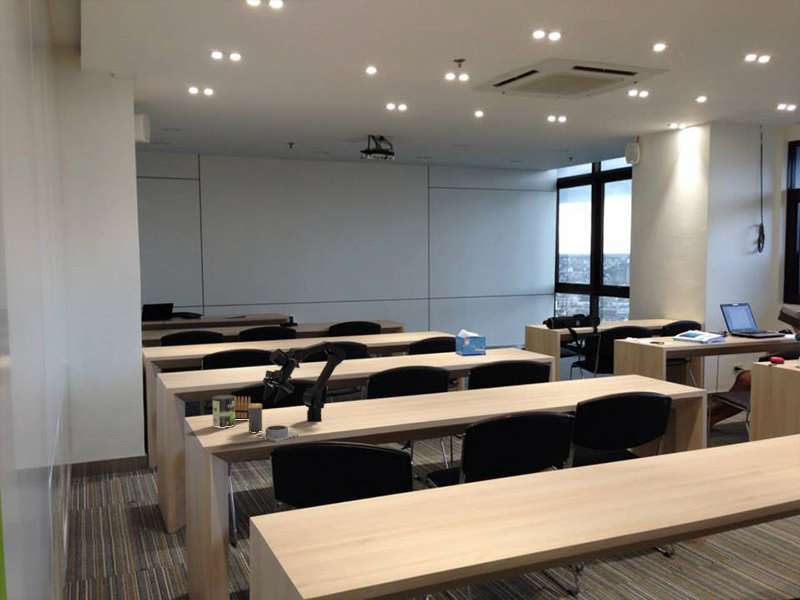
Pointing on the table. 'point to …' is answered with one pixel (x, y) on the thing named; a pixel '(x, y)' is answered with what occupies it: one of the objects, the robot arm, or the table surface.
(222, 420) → the coffee can
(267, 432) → the duct collar
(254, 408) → the grey cylindrical piece
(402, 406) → the table surface
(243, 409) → the ammunition clip
